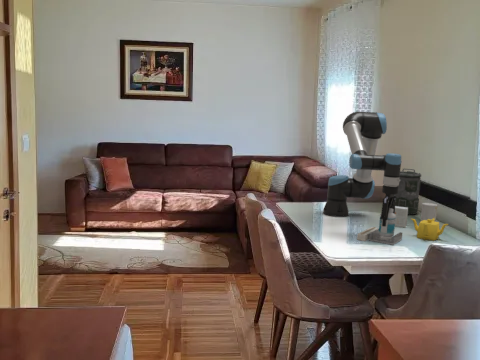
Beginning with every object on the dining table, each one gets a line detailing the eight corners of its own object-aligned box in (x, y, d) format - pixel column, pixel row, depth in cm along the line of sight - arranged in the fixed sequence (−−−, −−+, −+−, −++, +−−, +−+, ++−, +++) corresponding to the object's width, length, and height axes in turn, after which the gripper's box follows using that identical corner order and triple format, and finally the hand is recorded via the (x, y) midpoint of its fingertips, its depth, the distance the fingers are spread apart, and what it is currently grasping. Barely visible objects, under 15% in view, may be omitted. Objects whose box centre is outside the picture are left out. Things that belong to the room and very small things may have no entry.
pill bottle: (376, 233, 270) (378, 206, 268) (390, 233, 270) (393, 207, 268) (381, 237, 262) (383, 209, 260) (396, 237, 263) (398, 210, 261)
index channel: (369, 240, 264) (369, 233, 263) (378, 235, 276) (378, 228, 275) (393, 245, 258) (394, 237, 257) (401, 239, 269) (402, 232, 269)
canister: (390, 213, 338) (394, 168, 334) (392, 209, 353) (396, 166, 349) (416, 216, 333) (421, 171, 329) (417, 211, 347) (422, 168, 343)
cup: (436, 227, 304) (438, 206, 303) (421, 225, 306) (423, 204, 304) (434, 224, 312) (436, 203, 310) (419, 222, 314) (421, 202, 312)
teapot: (423, 241, 268) (425, 222, 267) (407, 234, 282) (409, 216, 281) (448, 241, 272) (450, 222, 271) (432, 234, 286) (434, 216, 284)
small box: (406, 225, 303) (408, 207, 301) (405, 227, 298) (407, 209, 296) (392, 223, 306) (393, 205, 305) (390, 225, 301) (392, 207, 300)
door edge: (357, 239, 264) (357, 232, 264) (370, 232, 281) (371, 226, 280) (364, 241, 262) (365, 234, 261) (378, 234, 279) (378, 227, 278)
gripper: (392, 188, 252) (387, 236, 256) (404, 184, 269) (399, 229, 273) (376, 186, 256) (372, 233, 260) (389, 182, 273) (385, 226, 277)
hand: (386, 231), depth 266 cm, fingers closed on pill bottle, 7 cm apart
